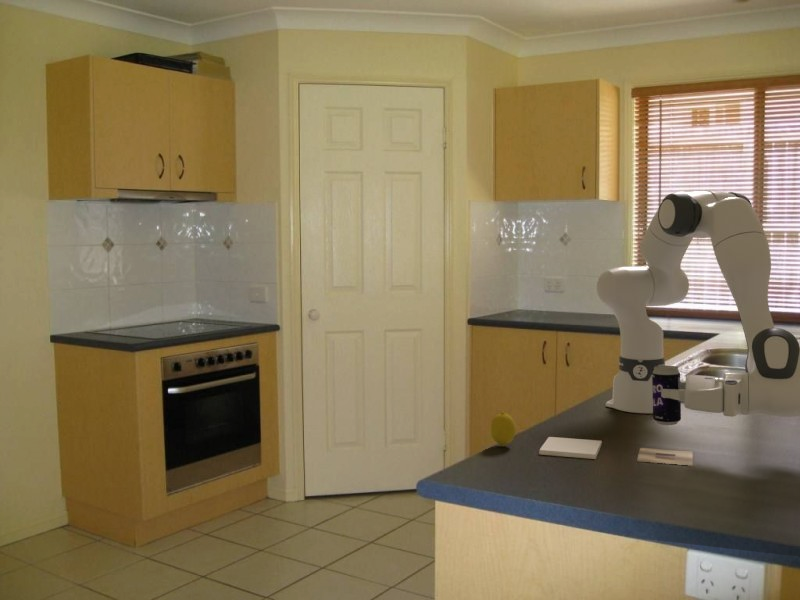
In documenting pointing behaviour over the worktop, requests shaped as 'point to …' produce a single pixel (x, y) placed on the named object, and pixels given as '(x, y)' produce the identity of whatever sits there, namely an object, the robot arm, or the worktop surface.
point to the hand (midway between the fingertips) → (662, 389)
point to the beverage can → (665, 408)
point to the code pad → (665, 456)
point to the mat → (571, 447)
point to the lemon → (503, 428)
